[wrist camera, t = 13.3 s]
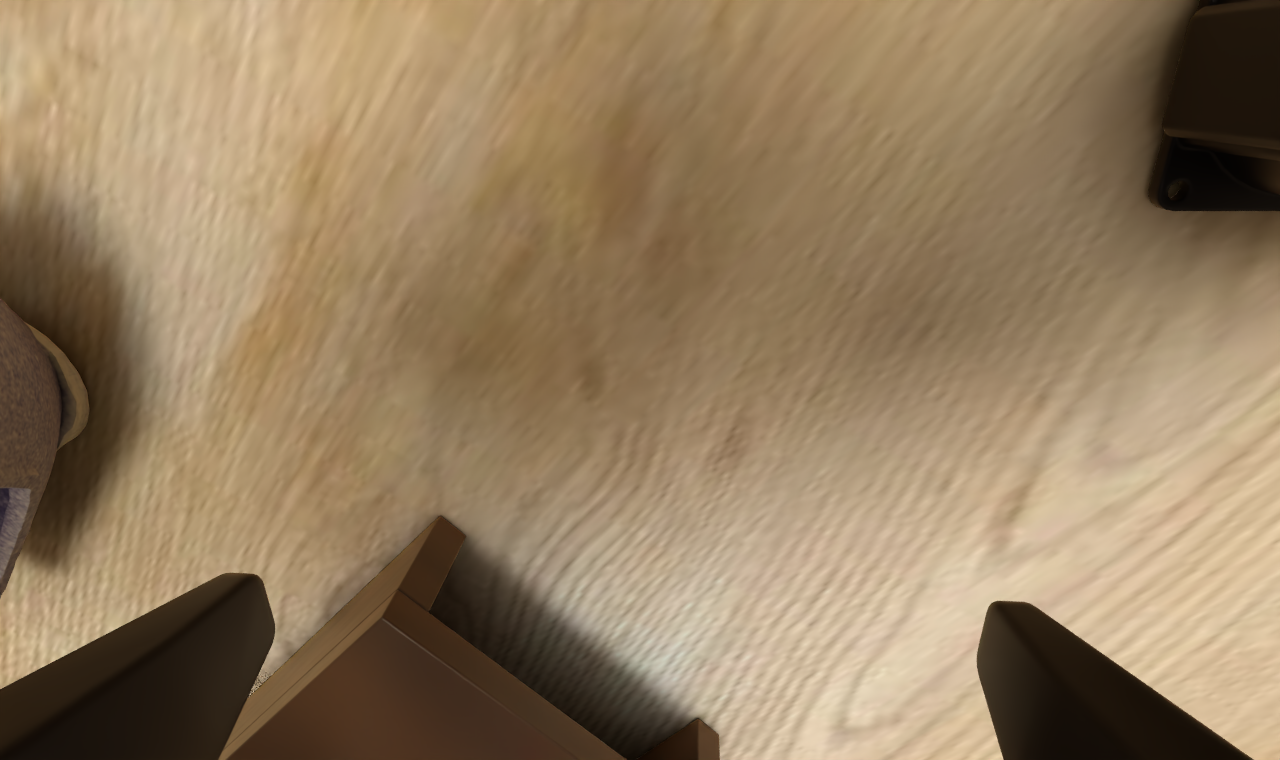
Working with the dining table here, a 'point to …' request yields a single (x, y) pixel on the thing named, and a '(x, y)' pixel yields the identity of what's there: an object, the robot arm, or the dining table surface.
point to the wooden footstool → (415, 687)
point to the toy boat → (31, 425)
